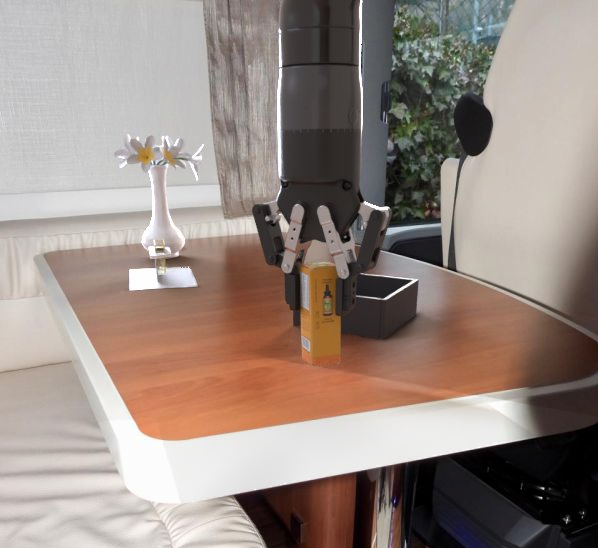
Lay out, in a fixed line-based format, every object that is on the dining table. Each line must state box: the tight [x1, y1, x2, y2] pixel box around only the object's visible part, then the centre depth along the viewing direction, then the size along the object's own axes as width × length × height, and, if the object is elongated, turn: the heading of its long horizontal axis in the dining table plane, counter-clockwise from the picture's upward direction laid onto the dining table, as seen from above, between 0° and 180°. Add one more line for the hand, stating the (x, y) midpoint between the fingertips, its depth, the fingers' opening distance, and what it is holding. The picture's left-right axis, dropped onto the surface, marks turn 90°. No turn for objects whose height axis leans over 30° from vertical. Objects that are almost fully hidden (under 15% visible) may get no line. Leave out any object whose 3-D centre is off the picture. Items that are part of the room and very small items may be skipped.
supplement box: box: [300, 261, 342, 368], centre depth 64 cm, size 3×3×10 cm
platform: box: [129, 240, 199, 291], centre depth 120 cm, size 12×18×7 cm, turn 14°
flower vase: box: [113, 133, 205, 260], centre depth 137 cm, size 13×18×25 cm
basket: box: [292, 273, 420, 340], centre depth 89 cm, size 13×13×7 cm
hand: (319, 310), depth 64 cm, fingers closed on supplement box, 4 cm apart
